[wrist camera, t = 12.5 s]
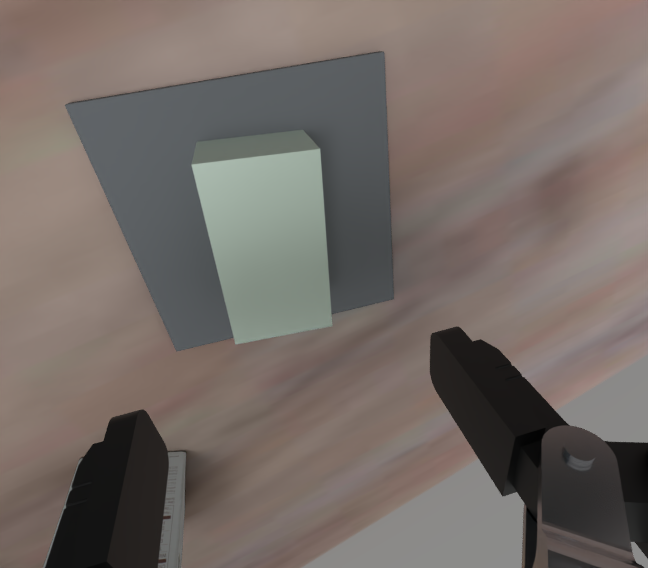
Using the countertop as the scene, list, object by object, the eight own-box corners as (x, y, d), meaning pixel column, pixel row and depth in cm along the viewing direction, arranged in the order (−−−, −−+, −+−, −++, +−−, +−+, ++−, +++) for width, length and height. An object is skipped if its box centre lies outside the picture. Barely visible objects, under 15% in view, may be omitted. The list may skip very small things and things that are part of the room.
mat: (390, 294, 26) (393, 299, 26) (177, 345, 25) (176, 351, 24) (379, 51, 19) (384, 52, 18) (69, 103, 17) (64, 104, 16)
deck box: (302, 129, 19) (320, 148, 16) (316, 286, 24) (332, 326, 21) (196, 141, 18) (191, 164, 15) (233, 300, 23) (235, 344, 20)
